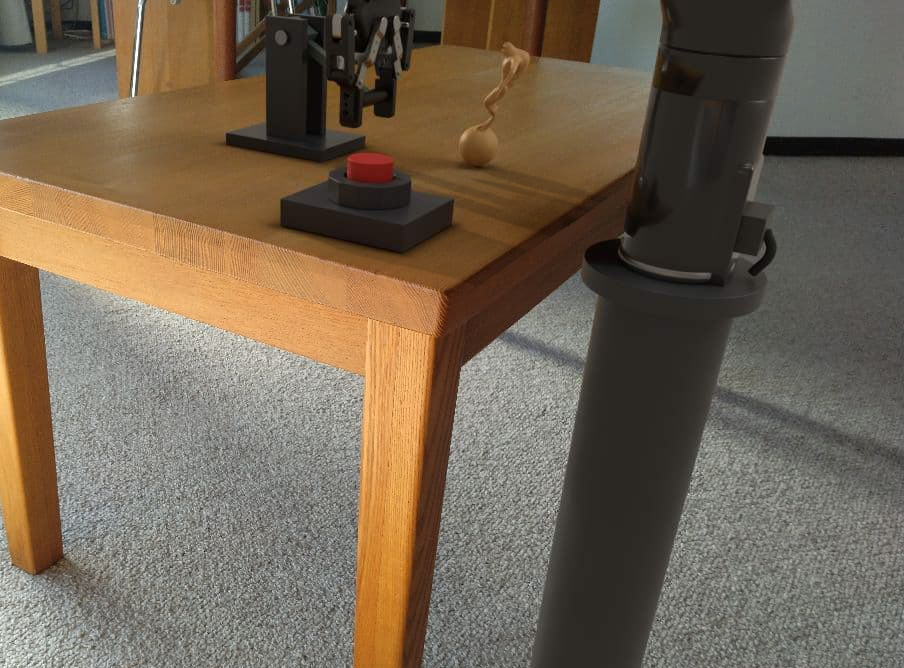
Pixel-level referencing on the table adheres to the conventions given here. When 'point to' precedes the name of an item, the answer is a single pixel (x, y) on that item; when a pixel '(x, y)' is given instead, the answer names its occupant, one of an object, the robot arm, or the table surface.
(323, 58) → the lever
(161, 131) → the table surface
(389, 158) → the button
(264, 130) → the bracket
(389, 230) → the button block
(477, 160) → the figurine
